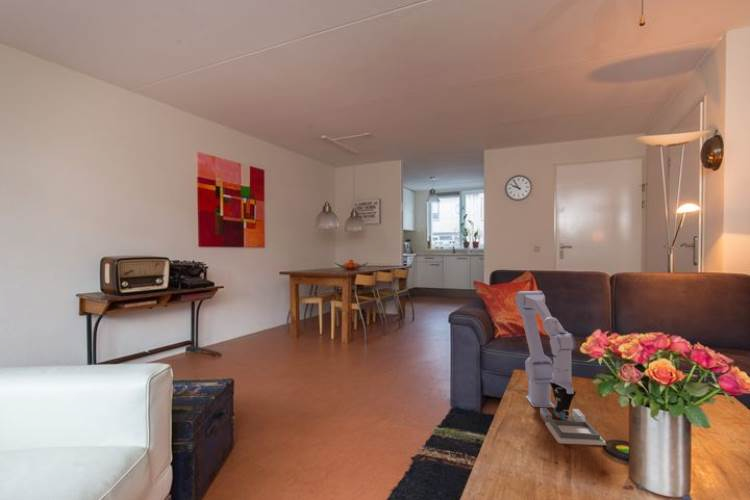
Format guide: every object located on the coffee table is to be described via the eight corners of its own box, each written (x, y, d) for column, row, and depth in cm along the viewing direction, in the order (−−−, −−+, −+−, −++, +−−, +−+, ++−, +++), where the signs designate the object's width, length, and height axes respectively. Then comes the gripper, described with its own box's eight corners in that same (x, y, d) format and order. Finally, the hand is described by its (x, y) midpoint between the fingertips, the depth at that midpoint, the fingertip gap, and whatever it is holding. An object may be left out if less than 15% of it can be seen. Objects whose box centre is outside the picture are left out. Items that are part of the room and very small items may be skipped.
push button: (575, 420, 132) (576, 392, 132) (564, 423, 130) (564, 395, 130) (560, 412, 138) (560, 385, 138) (549, 414, 137) (549, 387, 136)
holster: (540, 415, 138) (540, 407, 138) (578, 417, 137) (578, 408, 137) (546, 423, 132) (546, 415, 132) (585, 425, 131) (585, 416, 131)
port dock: (545, 425, 131) (545, 417, 131) (588, 426, 130) (588, 419, 130) (558, 443, 120) (558, 435, 119) (605, 445, 118) (605, 437, 118)
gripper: (543, 361, 142) (543, 397, 142) (558, 374, 128) (558, 414, 128) (563, 361, 141) (563, 397, 142) (580, 375, 127) (580, 415, 127)
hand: (562, 406), depth 135 cm, fingers closed on push button, 5 cm apart
